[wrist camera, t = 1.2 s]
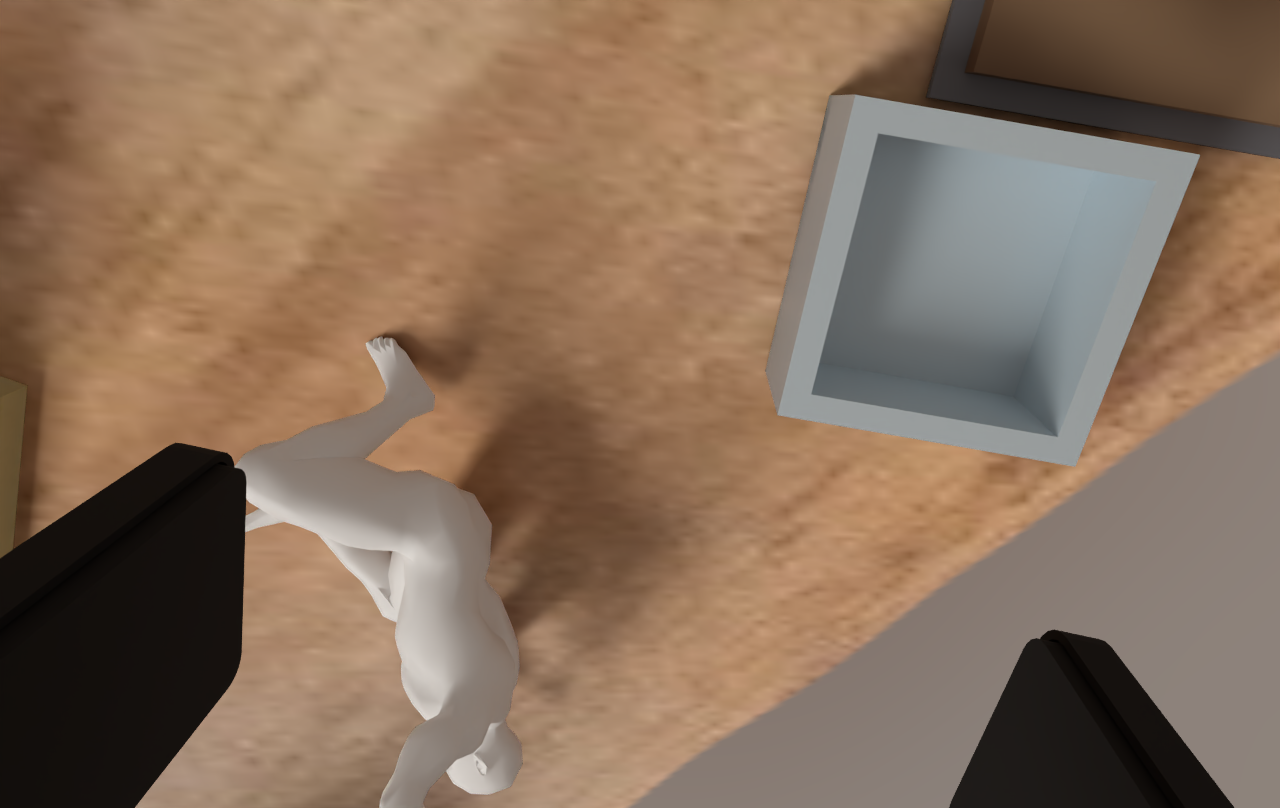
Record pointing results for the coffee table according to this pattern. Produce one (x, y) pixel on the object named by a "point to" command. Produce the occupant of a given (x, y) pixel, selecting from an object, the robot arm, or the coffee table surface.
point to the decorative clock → (10, 456)
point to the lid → (1140, 51)
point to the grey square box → (967, 276)
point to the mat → (1080, 99)
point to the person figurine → (408, 579)
